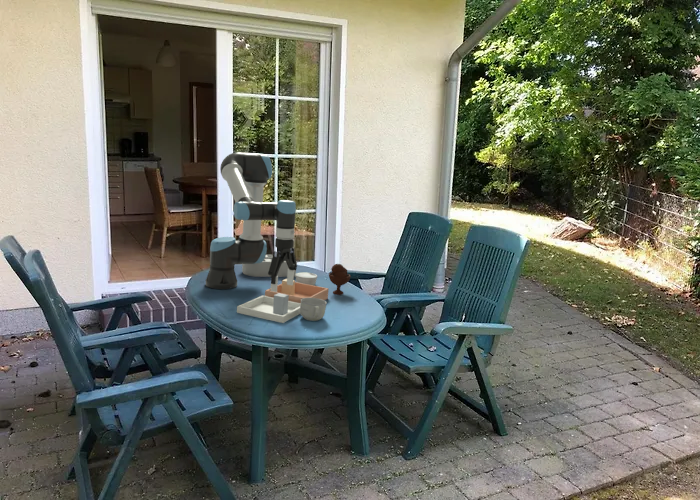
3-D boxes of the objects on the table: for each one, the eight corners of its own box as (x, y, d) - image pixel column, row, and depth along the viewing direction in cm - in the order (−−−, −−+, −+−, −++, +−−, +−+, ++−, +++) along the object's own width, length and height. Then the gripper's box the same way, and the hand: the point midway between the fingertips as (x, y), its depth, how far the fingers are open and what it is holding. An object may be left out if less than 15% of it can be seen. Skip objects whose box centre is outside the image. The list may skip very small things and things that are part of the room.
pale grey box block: (272, 313, 228) (274, 295, 226) (277, 311, 231) (278, 293, 230) (282, 315, 226) (284, 297, 224) (287, 313, 230) (288, 295, 228)
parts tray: (236, 313, 225) (237, 306, 224) (262, 301, 243) (262, 295, 243) (283, 323, 217) (283, 316, 216) (305, 311, 235) (306, 304, 235)
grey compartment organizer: (296, 277, 292) (297, 261, 290) (243, 277, 283) (244, 261, 281) (289, 269, 307) (290, 255, 305) (240, 269, 298) (240, 254, 297)
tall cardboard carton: (281, 297, 251) (282, 280, 250) (285, 295, 255) (286, 278, 253) (290, 298, 250) (291, 282, 248) (294, 296, 253) (295, 280, 252)
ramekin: (321, 285, 278) (321, 275, 277) (305, 288, 270) (305, 278, 269) (306, 280, 286) (307, 271, 285) (290, 283, 278) (291, 273, 277)
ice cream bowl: (346, 297, 261) (349, 267, 258) (324, 294, 263) (326, 264, 260) (351, 291, 271) (353, 262, 268) (329, 289, 273) (331, 260, 270)
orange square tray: (264, 301, 245) (265, 290, 244) (287, 290, 264) (288, 280, 263) (307, 310, 237) (307, 299, 236) (327, 298, 257) (328, 288, 256)
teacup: (299, 313, 231) (300, 296, 229) (324, 315, 232) (326, 297, 230) (299, 324, 217) (300, 305, 216) (326, 326, 218) (327, 307, 217)
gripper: (277, 243, 209) (274, 295, 213) (306, 235, 232) (303, 283, 236) (260, 240, 212) (258, 292, 216) (291, 233, 235) (288, 280, 239)
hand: (282, 288), depth 226 cm, fingers open, 13 cm apart
